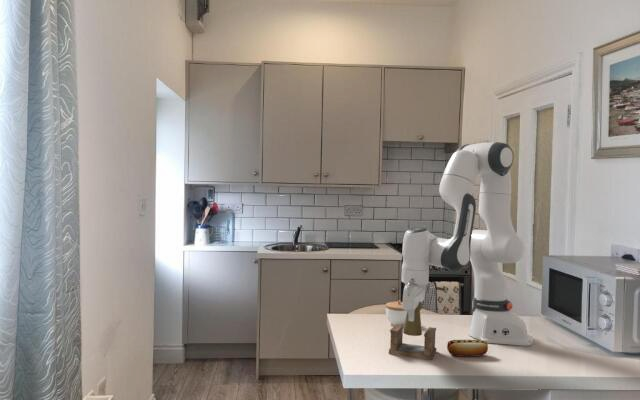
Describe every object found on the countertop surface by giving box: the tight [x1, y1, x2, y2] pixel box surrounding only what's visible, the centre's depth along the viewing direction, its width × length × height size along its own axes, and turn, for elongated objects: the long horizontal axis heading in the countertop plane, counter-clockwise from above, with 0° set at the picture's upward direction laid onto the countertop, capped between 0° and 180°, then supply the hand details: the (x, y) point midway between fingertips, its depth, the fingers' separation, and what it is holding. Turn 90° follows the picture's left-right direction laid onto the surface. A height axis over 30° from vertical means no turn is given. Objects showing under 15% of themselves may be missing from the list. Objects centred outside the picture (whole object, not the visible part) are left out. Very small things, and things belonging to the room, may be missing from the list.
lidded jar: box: [385, 299, 407, 326], centre depth 203 cm, size 11×11×9 cm
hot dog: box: [446, 339, 489, 357], centre depth 167 cm, size 5×13×5 cm, turn 93°
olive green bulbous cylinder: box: [403, 302, 423, 337], centre depth 168 cm, size 6×6×11 cm
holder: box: [388, 323, 437, 361], centre depth 169 cm, size 14×9×8 cm
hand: (413, 318), depth 168 cm, fingers closed on olive green bulbous cylinder, 4 cm apart
